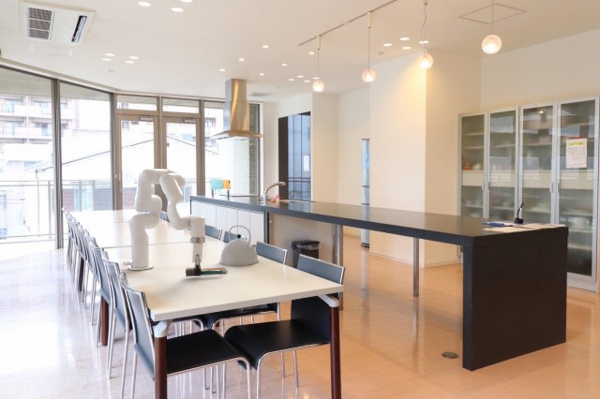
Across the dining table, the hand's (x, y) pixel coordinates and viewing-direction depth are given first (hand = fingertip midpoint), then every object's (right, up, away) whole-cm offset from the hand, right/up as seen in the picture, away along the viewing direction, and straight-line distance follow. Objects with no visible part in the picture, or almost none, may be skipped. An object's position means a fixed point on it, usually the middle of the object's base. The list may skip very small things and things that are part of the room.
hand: (197, 274), depth 238 cm
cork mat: (+2, -1, +14) cm, 15 cm away
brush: (+3, 0, +1) cm, 4 cm away
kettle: (+17, 0, +43) cm, 47 cm away
